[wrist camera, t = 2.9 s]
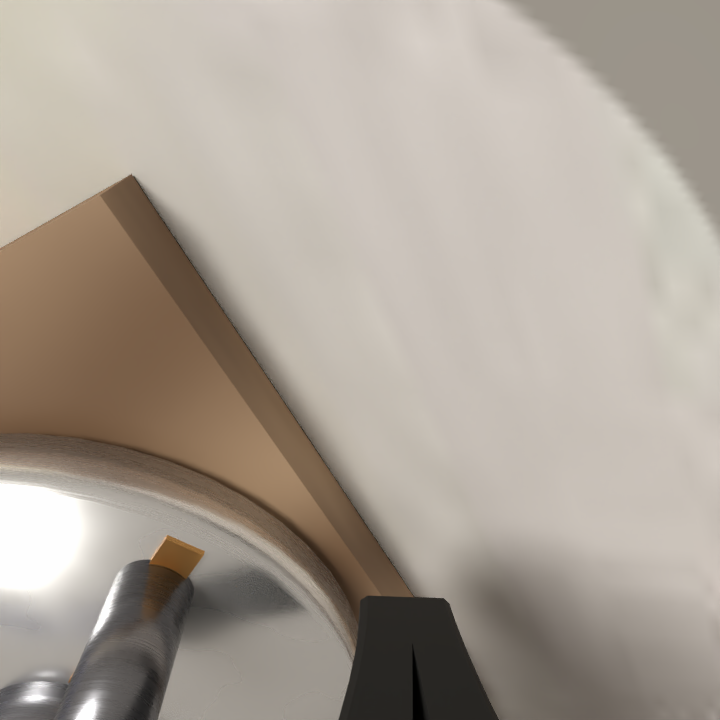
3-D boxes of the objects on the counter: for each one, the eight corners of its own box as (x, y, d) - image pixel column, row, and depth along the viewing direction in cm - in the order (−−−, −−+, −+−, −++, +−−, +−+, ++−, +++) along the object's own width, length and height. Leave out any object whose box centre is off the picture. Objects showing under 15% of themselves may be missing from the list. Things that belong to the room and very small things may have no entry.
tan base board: (-377, 461, 14) (-479, 522, 12) (131, 174, 11) (89, 201, 9) (101, 814, 21) (79, 882, 19) (483, 701, 18) (496, 770, 16)
